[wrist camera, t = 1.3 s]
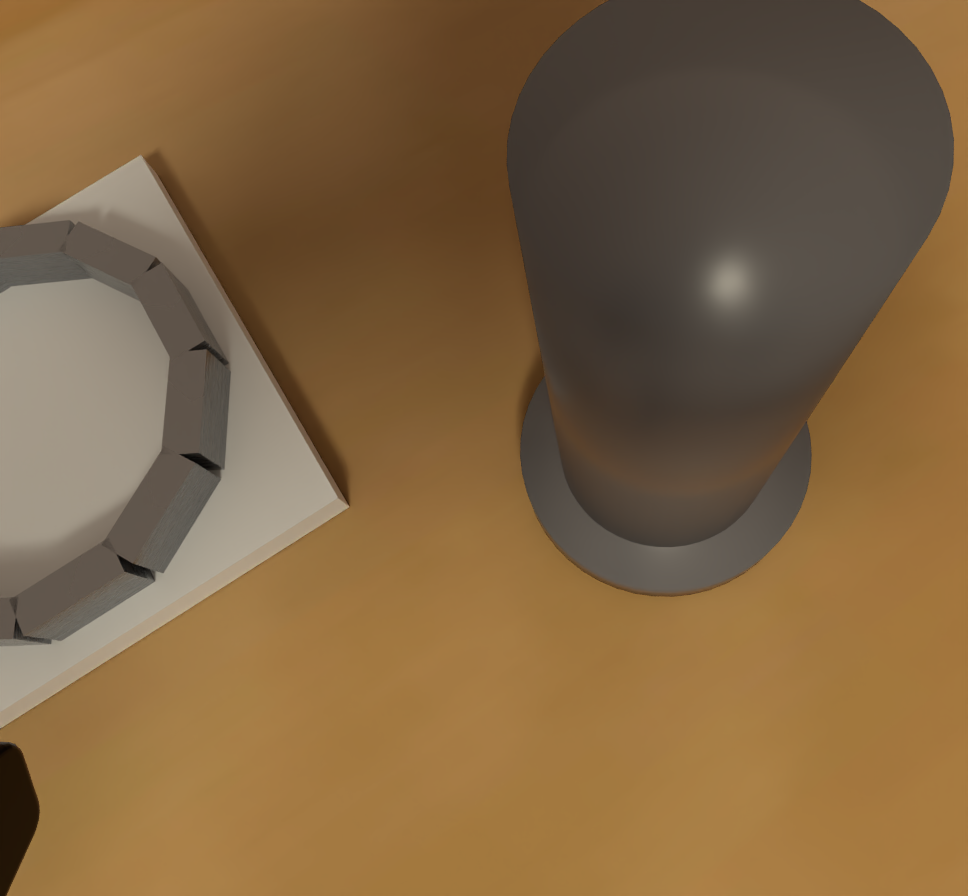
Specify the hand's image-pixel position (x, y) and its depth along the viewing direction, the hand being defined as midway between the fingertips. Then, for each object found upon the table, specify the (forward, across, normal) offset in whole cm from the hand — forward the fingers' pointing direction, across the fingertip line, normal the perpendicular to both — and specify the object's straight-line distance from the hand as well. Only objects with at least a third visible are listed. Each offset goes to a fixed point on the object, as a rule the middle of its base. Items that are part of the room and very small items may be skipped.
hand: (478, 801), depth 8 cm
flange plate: (+15, +14, +3) cm, 21 cm away
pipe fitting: (+15, -3, +3) cm, 15 cm away
